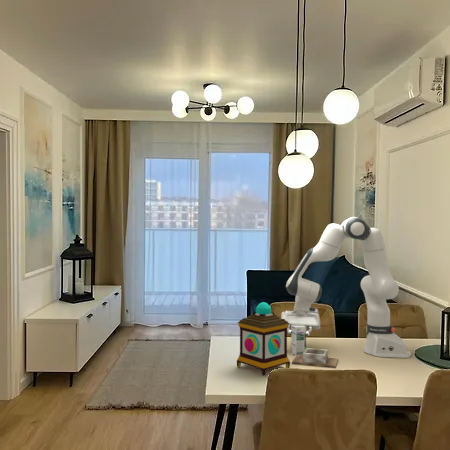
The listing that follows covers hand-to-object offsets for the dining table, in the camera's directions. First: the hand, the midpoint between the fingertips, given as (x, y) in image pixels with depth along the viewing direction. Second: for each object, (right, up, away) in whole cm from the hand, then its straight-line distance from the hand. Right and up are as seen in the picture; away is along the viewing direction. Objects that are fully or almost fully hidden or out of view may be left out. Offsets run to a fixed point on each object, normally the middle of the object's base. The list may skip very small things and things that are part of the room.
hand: (298, 334), depth 241 cm
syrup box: (0, -10, +1) cm, 10 cm away
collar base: (+6, -10, -13) cm, 18 cm away
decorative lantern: (-19, -10, -23) cm, 32 cm away
